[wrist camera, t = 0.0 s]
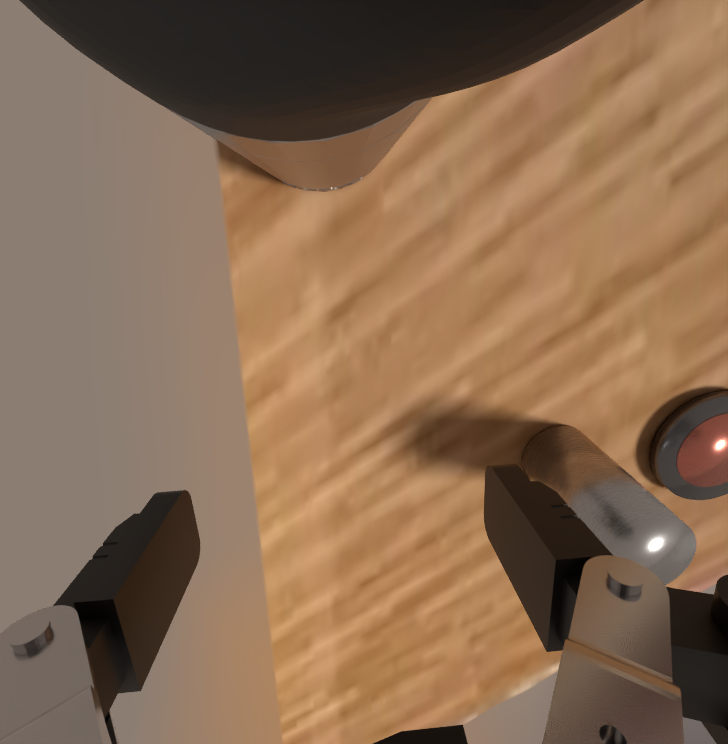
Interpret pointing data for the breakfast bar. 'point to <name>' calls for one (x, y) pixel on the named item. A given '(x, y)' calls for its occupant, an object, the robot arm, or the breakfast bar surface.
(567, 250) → the breakfast bar surface
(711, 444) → the flange pad
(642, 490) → the grey metal cylinder
